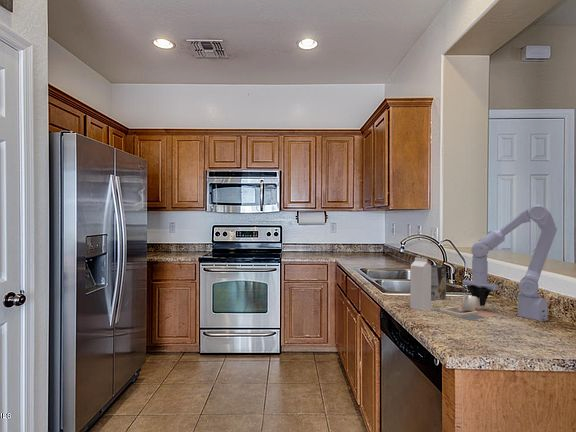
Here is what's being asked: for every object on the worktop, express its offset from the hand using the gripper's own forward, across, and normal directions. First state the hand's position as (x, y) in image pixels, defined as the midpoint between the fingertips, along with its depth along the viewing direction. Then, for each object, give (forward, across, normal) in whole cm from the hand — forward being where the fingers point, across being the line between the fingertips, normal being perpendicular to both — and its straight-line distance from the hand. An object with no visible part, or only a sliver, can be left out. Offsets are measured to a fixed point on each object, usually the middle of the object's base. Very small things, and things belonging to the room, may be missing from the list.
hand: (479, 305), depth 160 cm
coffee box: (+3, +25, -3) cm, 25 cm away
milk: (+3, +13, +20) cm, 24 cm away
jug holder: (+3, 0, +9) cm, 9 cm away
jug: (+2, 0, +6) cm, 6 cm away
